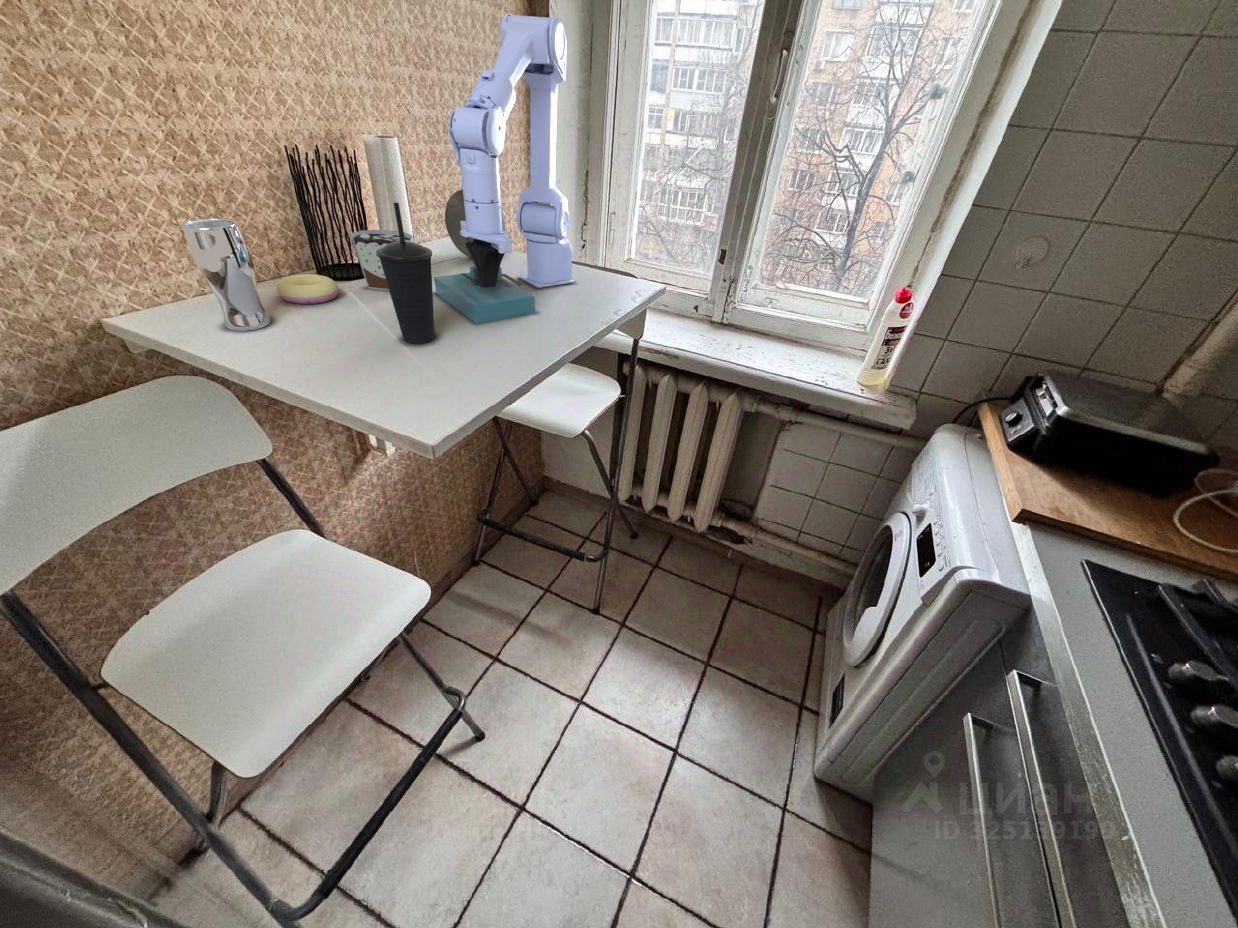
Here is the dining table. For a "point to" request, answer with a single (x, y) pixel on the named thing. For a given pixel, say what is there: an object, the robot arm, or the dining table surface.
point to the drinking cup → (410, 286)
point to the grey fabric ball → (453, 218)
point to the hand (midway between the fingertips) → (489, 286)
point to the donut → (307, 288)
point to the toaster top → (498, 280)
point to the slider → (476, 278)
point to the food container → (374, 253)
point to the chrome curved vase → (227, 271)
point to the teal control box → (484, 297)
